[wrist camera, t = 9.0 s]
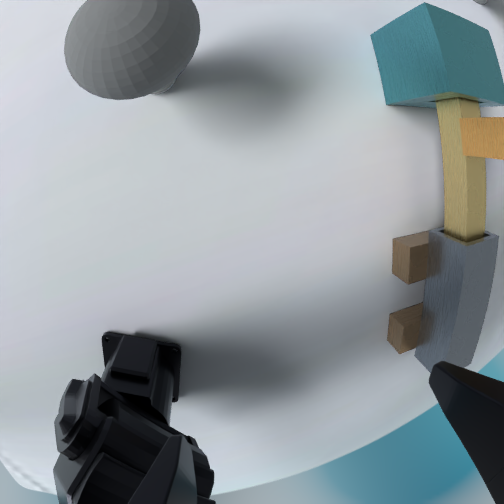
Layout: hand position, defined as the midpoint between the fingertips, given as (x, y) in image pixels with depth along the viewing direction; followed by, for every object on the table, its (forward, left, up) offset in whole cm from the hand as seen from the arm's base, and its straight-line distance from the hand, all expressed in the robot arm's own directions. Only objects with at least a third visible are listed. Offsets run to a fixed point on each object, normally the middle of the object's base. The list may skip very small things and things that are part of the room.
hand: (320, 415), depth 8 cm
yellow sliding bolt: (+9, -13, -10) cm, 18 cm away
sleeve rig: (+8, -13, -13) cm, 20 cm away
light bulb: (+12, +9, -13) cm, 20 cm away
